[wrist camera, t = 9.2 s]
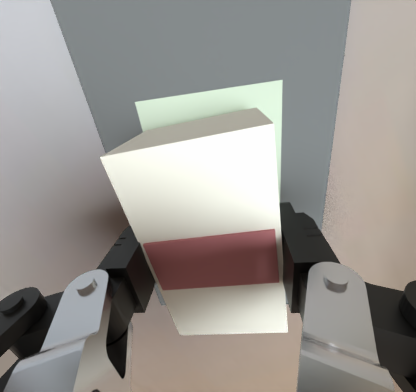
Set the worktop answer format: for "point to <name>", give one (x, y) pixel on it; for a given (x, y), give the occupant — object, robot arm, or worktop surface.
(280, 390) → the worktop surface
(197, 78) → the mat
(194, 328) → the card deck
